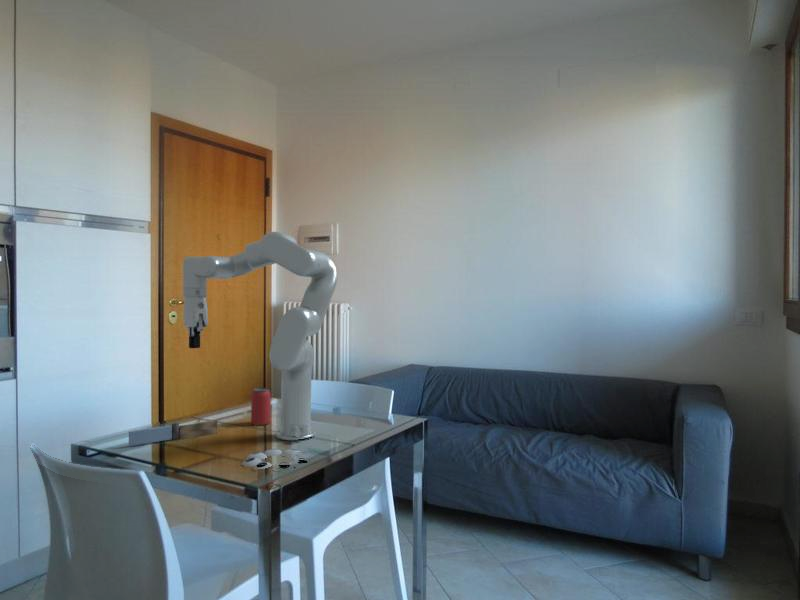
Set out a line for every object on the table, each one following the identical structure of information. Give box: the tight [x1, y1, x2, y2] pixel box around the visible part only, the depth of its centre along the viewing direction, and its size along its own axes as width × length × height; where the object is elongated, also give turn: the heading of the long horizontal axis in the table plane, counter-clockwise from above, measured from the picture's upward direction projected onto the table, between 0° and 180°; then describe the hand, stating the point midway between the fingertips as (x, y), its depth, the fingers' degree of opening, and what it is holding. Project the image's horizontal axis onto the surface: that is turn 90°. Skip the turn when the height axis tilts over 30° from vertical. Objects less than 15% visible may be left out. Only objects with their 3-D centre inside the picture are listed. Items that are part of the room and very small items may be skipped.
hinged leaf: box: [128, 425, 172, 447], centre depth 169 cm, size 12×1×4 cm, turn 131°
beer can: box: [250, 387, 272, 426], centre depth 197 cm, size 7×7×12 cm
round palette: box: [241, 448, 307, 469], centre depth 153 cm, size 20×20×2 cm
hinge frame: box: [171, 420, 218, 441], centre depth 178 cm, size 14×2×5 cm, turn 132°
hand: (194, 347), depth 189 cm, fingers closed
